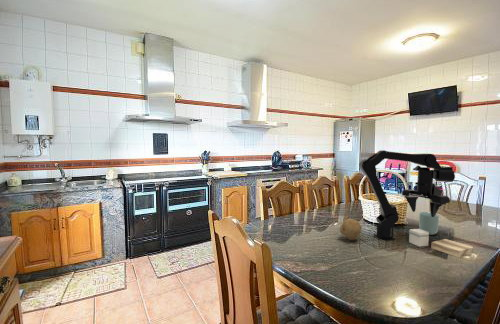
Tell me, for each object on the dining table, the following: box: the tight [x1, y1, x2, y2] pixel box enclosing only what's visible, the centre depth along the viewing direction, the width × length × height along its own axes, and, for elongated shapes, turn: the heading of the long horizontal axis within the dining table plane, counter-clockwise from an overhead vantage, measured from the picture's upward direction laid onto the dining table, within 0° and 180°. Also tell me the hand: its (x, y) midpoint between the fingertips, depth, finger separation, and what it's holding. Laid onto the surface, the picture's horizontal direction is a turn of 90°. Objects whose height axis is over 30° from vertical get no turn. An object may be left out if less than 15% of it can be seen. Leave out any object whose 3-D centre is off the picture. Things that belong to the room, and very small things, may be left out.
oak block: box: [430, 238, 474, 258], centre depth 101 cm, size 10×10×3 cm
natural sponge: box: [339, 218, 362, 241], centre depth 112 cm, size 9×9×10 cm
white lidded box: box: [408, 228, 430, 248], centre depth 108 cm, size 5×5×6 cm
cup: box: [418, 211, 440, 236], centre depth 121 cm, size 8×8×10 cm
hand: (422, 214), depth 111 cm, fingers open, 9 cm apart
